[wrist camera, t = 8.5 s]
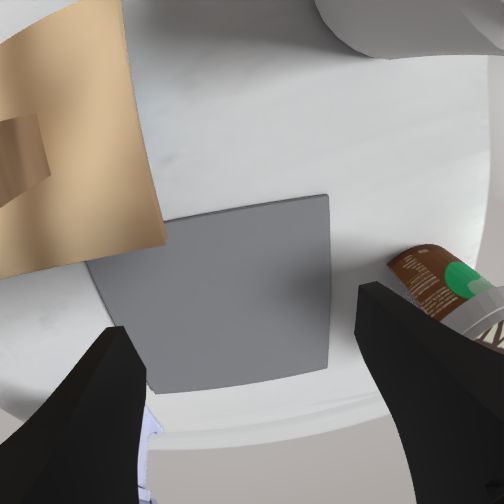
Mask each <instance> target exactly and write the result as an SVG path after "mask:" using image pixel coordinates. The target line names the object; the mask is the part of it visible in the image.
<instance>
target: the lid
mask: <svg viewBox="0 0 504 504" xmlns="http://www.w3.org/2000/svg"><path fill="white" fill-rule="evenodd" d="M167 239H168V236H167V232H166V229H165V225H164V222H163V218H162V214H161V210H160V207H159V203H158V199H157V195H156V191H155V187H154V183H153V179H152V175H151V171H150V166H149V162H148V158H147V153H146V149H145V144H144V140H143V135H142V130H141V126H140V121H139V116H138V110H137V105H136V100H135V95H134V89H133V83H132V77H131V71H130V65H129V59H128V52H127V45H126V38H125V30H124V22H123V13H122V4H121V0H80V1H78V2H76V3H74V4H71V5H69V6H67V7H65V8H63V9H61V10H59V11H57V12H55V13H53V14H51V15H49V16H47V17H45V18H43V19H41V20H39V21H37V22H36V23H34V24H32V25H30V26H29V27H27V28H25V29H24V30H22V31H20V32H19V33H17V34H15V35H14V36H12V37H11V38H9V39H7V40H6V41H4V42H3V43H1V44H0V279H3V278H8V277H12V276H16V275H21V274H26V273H30V272H35V271H39V270H44V269H49V268H53V267H58V266H63V265H68V264H72V263H77V262H82V261H87V260H92V259H97V258H102V257H107V256H112V255H117V254H122V253H127V252H132V251H137V250H142V249H147V248H153V247H158V246H163V245H166V242H167Z"/></svg>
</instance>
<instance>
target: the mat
mask: <svg viewBox="0 0 504 504" xmlns="http://www.w3.org/2000/svg"><path fill="white" fill-rule="evenodd" d="M164 225H165V229H166V232H167V236H168V239H167V242H166V245H163V246H158V247H153V248H147V249H142V250H137V251H132V252H127V253H122V254H117V255H112V256H107V257H102V258H97V259H92V260H87V261H86V263H87V265H88V267H89V270H90V272H91V274H92V277H93V279H94V281H95V283H96V286H97V288H98V290H99V292H100V294H101V297H102V299H103V301H104V303H105V305H106V307H107V309H108V311H109V313H110V315H111V317H112V319H113V321H114V323H115V325H116V326H124V328H125V330H126V332H127V334H128V335H129V337H130V339H131V341H132V343H133V345H134V347H135V349H136V351H137V352H138V354H139V356H140V358H141V360H142V361H143V363H144V365H145V367H146V368H147V373H146V380H147V382H148V383H149V385H150V387H151V388H152V390H153V391H154V393H155V394H167V393H179V392H190V391H199V390H208V389H216V388H224V387H231V386H238V385H245V384H251V383H257V382H263V381H269V380H274V379H279V378H285V377H290V376H294V375H299V374H304V373H308V372H313V371H317V370H322V369H326V368H327V366H328V348H329V325H330V212H329V196H328V195H327V194H323V195H316V196H309V197H302V198H295V199H289V200H282V201H276V202H270V203H263V204H257V205H251V206H245V207H240V208H234V209H228V210H222V211H217V212H211V213H206V214H200V215H195V216H190V217H185V218H179V219H174V220H169V221H164Z"/></svg>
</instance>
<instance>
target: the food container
mask: <svg viewBox="0 0 504 504" xmlns="http://www.w3.org/2000/svg"><path fill="white" fill-rule="evenodd" d="M387 266H388V267H389V268H390V270H391V271H392V272H393V274H394V275H395V276H396V277H397V279H398V280H399V281H400V283H401V284H402V285H403V287H404V288H405V289H406V291H407V292H408V293H409V295H410V296H411V297H412V299H413V300H414V301H415V303H416V304H417V306H418V307H419V308H420V310H422V311H423V312H425V313H426V314H428V315H430V316H431V317H433V318H434V319H436V320H438V321H439V322H441V323H442V324H444V325H446V326H448V327H449V328H451V329H453V330H455V331H456V332H458V333H460V334H461V335H463V336H465V337H467V338H469V339H471V340H473V341H475V342H477V343H479V344H481V345H483V346H485V347H487V348H489V349H492V350H494V351H496V352H499V353H501V354H503V355H504V286H500V287H495V286H494V285H492V284H491V283H490V282H489V281H487V280H486V279H485V278H483V277H482V276H481V275H480V274H478V273H477V272H476V271H474V270H473V269H472V268H470V267H469V266H468V265H466V264H465V263H464V262H462V261H461V260H459V259H458V258H457V257H455V256H454V255H452V254H451V253H450V252H448V251H447V250H445V249H444V248H442V247H440V246H438V245H433V244H425V245H419V246H416V247H413V248H410V249H408V250H406V251H404V252H403V253H401V254H400V255H398V256H397V257H395V258H394V259H393V260H391V261H390V262H389V263H388V264H387Z"/></svg>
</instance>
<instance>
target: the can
mask: <svg viewBox="0 0 504 504" xmlns="http://www.w3.org/2000/svg"><path fill="white" fill-rule="evenodd" d="M315 5H316V7H317V9H318V11H319V13H320V15H321V17H322V19H323V21H324V22H325V24H326V25H327V26H328V27H329V28H330V29H331V31H332V32H333V33H334V34H335V35H336V36H337V38H339V39H340V40H342V41H343V42H344V43H346V44H347V45H348V46H350V47H351V48H352V49H354V50H356V51H358V52H361V53H363V54H365V55H368V56H370V57H372V58H381V59H389V60H391V59H399V58H409V57H421V56H436V55H501V56H504V0H315Z"/></svg>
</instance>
